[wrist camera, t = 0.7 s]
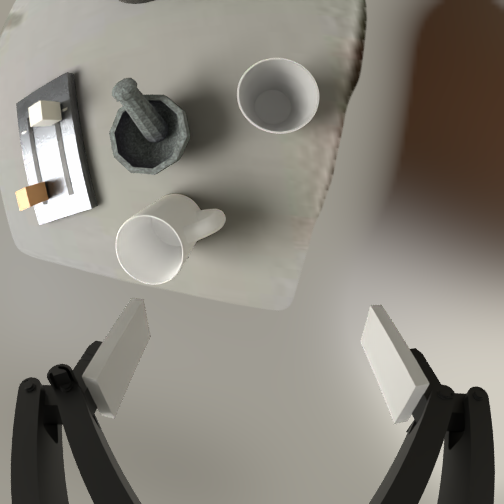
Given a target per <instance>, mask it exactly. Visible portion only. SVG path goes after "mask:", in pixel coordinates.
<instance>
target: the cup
mask: <svg viewBox="0 0 504 504" xmlns="http://www.w3.org/2000/svg"><path fill="white" fill-rule="evenodd" d="M237 101H238V105H239V107H240V110H241V112H242V113H243V115H244V116H245V118H246V119H247V120H248V121H249V122H250V123H251V124H253V125H254V126H255V127H257V128H259V129H261V130H263V131H266V132H270V133H277V134H282V133H289V132H293V131H296V130H298V129H300V128H302V127H303V126H305V125H306V124H307V123H308V122H309V121H310V120H311V119H312V118H313V116H314V115H315V113H316V111H317V108H318V105H319V90H318V86H317V83H316V81H315V79H314V78H313V76H312V75H311V73H310V72H309V71H308V70H307V69H306V68H305V67H303V66H302V65H300V64H299V63H297V62H295V61H292V60H289V59H285V58H269V59H264V60H261V61H259V62H257V63H255V64H253V65H252V66H251V67H249V68H248V69H247V70H246V71H245V73H244V74H243V75H242V77H241V79H240V81H239V84H238V88H237Z"/></svg>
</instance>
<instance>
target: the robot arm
mask: <svg viewBox="0 0 504 504" xmlns="http://www.w3.org/2000/svg"><path fill="white" fill-rule="evenodd" d="M119 1H121V2H125V3H131V4H137V3H145V2H150V1H154V0H119ZM150 337H151V336H150V331H149V327H148V321H147V316H146V310H145V304H144V299H137V298H132V299H131V300H130V302H129V303H128V304H127V306H126V308H125V309H124V310H123V312H122V313H121V315H120V316H119V318H118V319H117V321H116V322H115V324H114V325H113V327H112V328H111V330H110V331H109V333H108V335H107V336H106V338H105V339H104V341H103V342H100V341H95V342H94V343H92V344H91V345H90V346H89V347H88V348H87V350H86V351H85V353H84V354H83V356H82V357H81V359H80V360H79V362H78V363H77V365H76V366H75V368H74V370H72V369H71V367H70V366H68V365H65V364H60V365H56V366H54V367H52V368H51V369H50V370H49V372H48V374H47V378H48V380H49V382H50V384H51V385H42V384H41V383H40V381H39V380H38V379H36V378H32V377H31V378H27V379H25V380H24V381H22V383H21V384H20V386H19V390H18V396H17V403H16V409H15V417H14V426H13V437H12V453H11V495H12V504H69V502H68V496H67V489H66V482H65V472H64V462H63V447H62V425H63V426H64V429H65V432H66V436H67V439H68V442H69V445H70V447H71V450H72V453H73V456H74V458H75V461H76V463H77V466H78V469H79V471H80V474H81V476H82V478H83V481H84V483H85V485H86V487H87V490H88V492H89V494H90V496H91V498H92V500H93V502H94V504H141V502H140V501H139V499H138V497H137V496H136V494H135V493H134V491H133V489H132V488H131V486H130V484H129V482H128V481H127V479H126V477H125V476H124V474H123V472H122V470H121V468H120V466H119V464H118V463H117V461H116V459H115V457H114V455H113V453H112V451H111V449H110V447H109V445H108V443H107V440H106V438H105V436H104V434H103V432H102V430H101V427H100V425H99V423H98V420H97V418H96V416H95V414H94V413H95V411H96V409H98V410H99V412H100V414H101V415H103V416H107V417H111V418H115V416H116V414H117V411H118V409H119V407H120V404H121V402H122V400H123V397H124V395H125V392H126V390H127V388H128V386H129V383H130V381H131V378H132V376H133V374H134V372H135V369H136V367H137V365H138V363H139V361H140V358H141V356H142V354H143V352H144V350H145V347H146V345H147V343H148V341H149V339H150ZM360 342H361V345H362V347H363V349H364V351H365V354H366V356H367V358H368V361H369V363H370V365H371V368H372V370H373V372H374V375H375V377H376V380H377V382H378V385H379V387H380V389H381V391H382V394H383V397H384V399H385V402H386V404H387V407H388V409H389V412H390V415H391V417H392V420H393V422H394V424H396V423H401V422H406V421H407V420H408V419H409V418H410V416H411V414H412V415H413V417H414V421H413V423H412V424H411V425H410V427H409V428H408V430H407V431H406V432H408V433H407V435H406V438H405V440H404V442H403V444H402V446H401V448H400V450H399V452H398V454H397V456H396V458H395V460H394V462H393V464H392V466H391V468H390V469H389V471H388V473H387V475H386V476H385V478H384V480H383V482H382V483H381V485H380V487H379V488H378V490H377V492H376V494H375V495H374V496H373V498H372V500H371V501H370V503H369V504H418V503H419V500H420V498H421V496H422V494H423V492H424V490H425V488H426V485H427V483H428V481H429V478H430V476H431V473H432V471H433V468H434V466H435V463H436V461H437V458H438V455H439V452H440V449H441V446H442V444H443V441H444V454H443V467H442V475H441V483H440V490H439V498H438V503H437V504H494V480H495V478H494V477H495V476H494V475H495V467H494V466H495V465H494V442H493V430H492V421H491V412H490V405H489V398H488V395H487V393H486V392H485V390H483V389H482V388H480V387H472V388H470V389H469V391H468V392H467V394H458V393H454V391H453V390H452V389H451V388H450V387H448V386H446V385H441V384H440V382H439V380H438V379H437V377H436V375H435V374H434V372H433V370H432V369H431V367H430V365H429V364H428V362H426V359H425V357H424V356H423V354H422V353H421V352H419V351H418V350H417V349H416V348H414V349H409V348H408V346H407V344H406V342H405V341H404V339H403V338H402V336H401V334H400V333H399V331H398V330H397V328H396V327H395V325H394V323H393V322H392V320H391V319H390V317H389V315H388V314H387V312H386V311H385V309H384V308H383V306H382V305H371V306H370V309H369V313H368V316H367V320H366V324H365V328H364V331H363V335H362V338H361V341H360ZM444 437H445V438H444Z"/></svg>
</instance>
